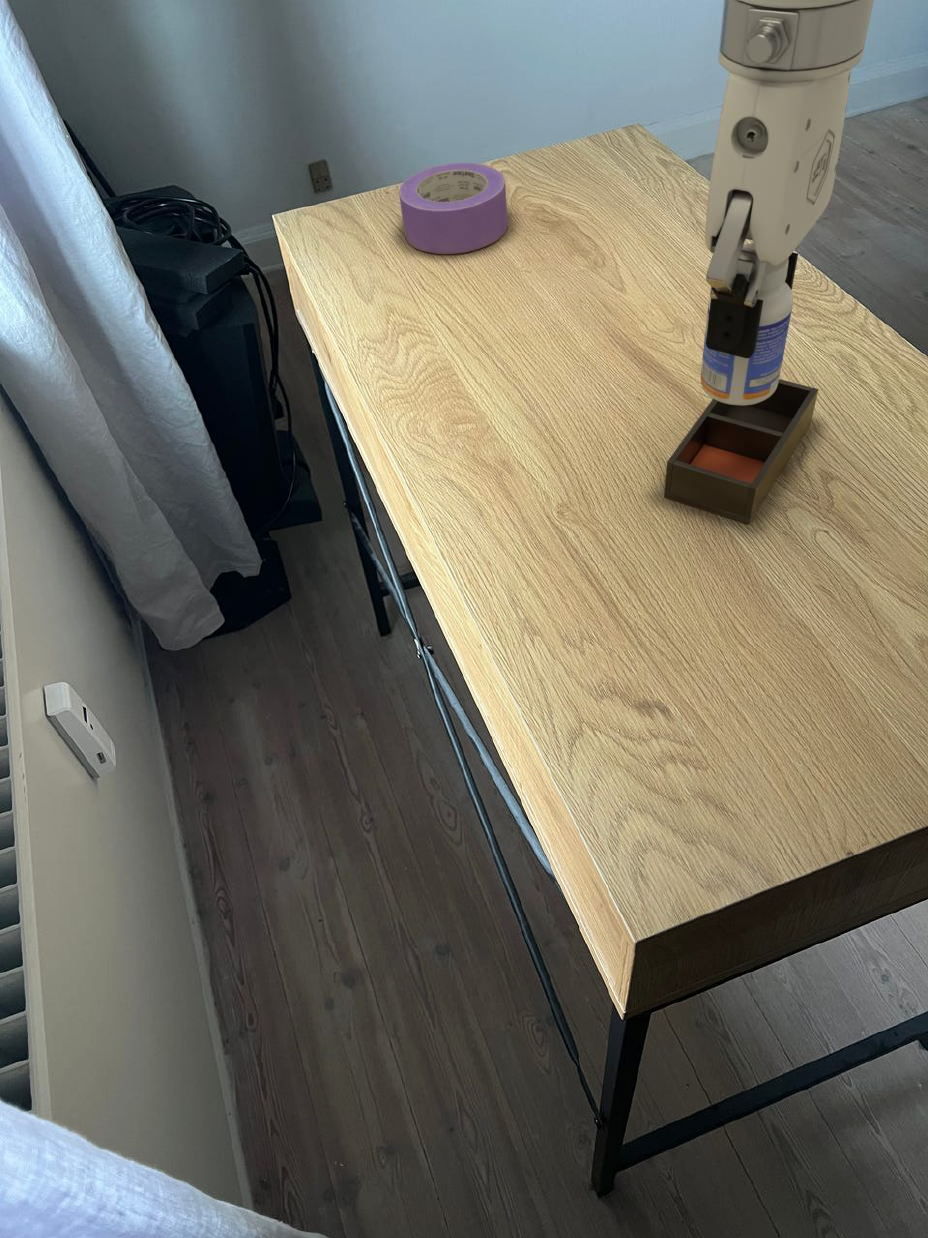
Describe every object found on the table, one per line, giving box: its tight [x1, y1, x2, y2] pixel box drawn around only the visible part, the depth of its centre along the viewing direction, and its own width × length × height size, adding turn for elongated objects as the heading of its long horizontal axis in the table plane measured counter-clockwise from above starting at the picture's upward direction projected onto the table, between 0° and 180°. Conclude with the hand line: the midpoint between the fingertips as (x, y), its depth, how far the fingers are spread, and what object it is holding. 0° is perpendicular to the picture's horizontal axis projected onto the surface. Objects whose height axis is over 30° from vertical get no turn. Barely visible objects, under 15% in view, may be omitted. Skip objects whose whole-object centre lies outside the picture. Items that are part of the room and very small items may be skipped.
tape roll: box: [398, 162, 509, 255], centre depth 103 cm, size 12×12×5 cm
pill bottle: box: [700, 242, 794, 405], centre depth 63 cm, size 5×5×10 cm
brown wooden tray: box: [663, 378, 819, 525], centre depth 74 cm, size 7×14×4 cm, turn 147°
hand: (747, 325), depth 63 cm, fingers closed on pill bottle, 5 cm apart
